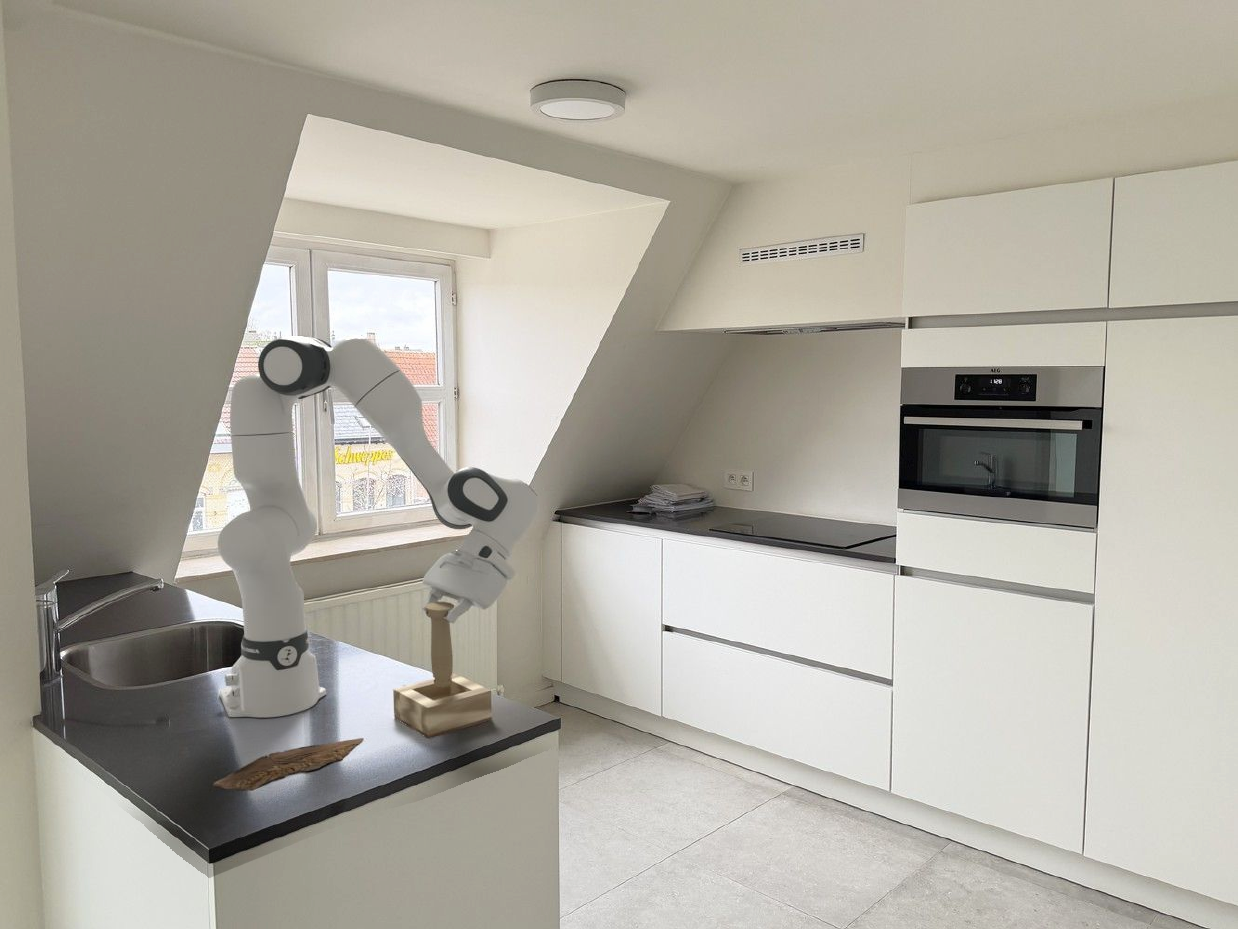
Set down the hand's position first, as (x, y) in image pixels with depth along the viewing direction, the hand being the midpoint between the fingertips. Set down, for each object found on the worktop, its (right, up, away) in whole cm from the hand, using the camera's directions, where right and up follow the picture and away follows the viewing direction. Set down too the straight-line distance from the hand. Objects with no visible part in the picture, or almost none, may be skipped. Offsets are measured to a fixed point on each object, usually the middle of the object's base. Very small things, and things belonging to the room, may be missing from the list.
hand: (436, 616), depth 169 cm
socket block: (+1, -19, +2) cm, 20 cm away
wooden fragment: (-20, -22, -16) cm, 34 cm away
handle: (+1, -13, +2) cm, 13 cm away
